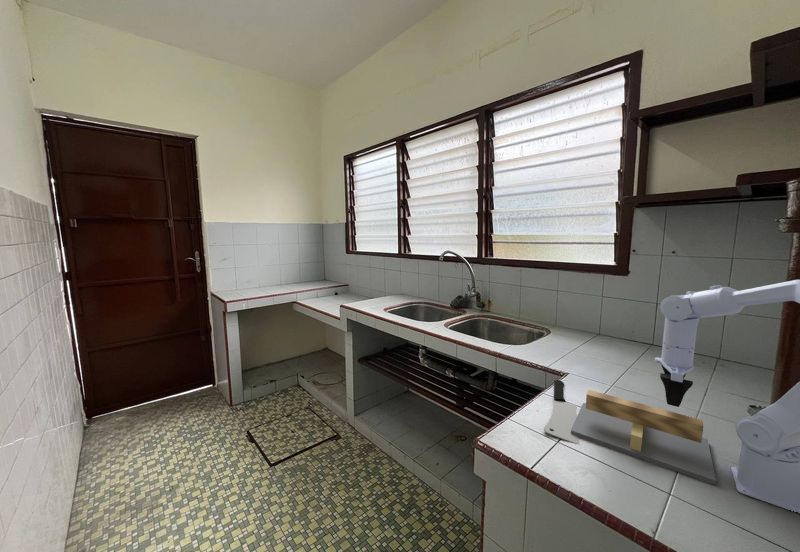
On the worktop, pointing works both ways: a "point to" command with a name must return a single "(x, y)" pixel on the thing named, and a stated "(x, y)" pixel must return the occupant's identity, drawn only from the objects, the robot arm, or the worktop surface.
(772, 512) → the worktop surface
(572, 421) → the kitchen cleaver
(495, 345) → the worktop surface
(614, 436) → the ridge stand
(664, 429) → the oak beam
